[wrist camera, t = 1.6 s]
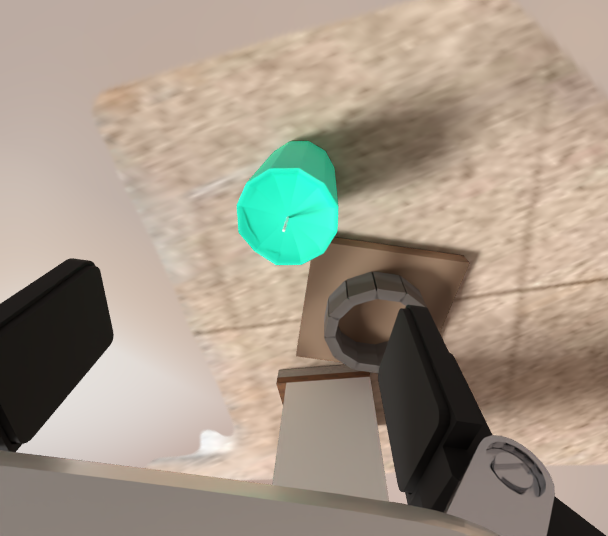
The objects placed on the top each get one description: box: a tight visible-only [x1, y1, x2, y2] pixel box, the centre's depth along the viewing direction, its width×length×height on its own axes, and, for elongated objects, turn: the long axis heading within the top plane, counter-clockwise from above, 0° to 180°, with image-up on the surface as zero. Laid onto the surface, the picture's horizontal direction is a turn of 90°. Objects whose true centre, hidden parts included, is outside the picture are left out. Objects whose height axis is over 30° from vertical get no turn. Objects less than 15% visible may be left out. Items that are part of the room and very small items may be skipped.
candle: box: [237, 141, 338, 265], centre depth 22 cm, size 6×6×12 cm
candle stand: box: [296, 237, 470, 373], centre depth 31 cm, size 14×14×4 cm
